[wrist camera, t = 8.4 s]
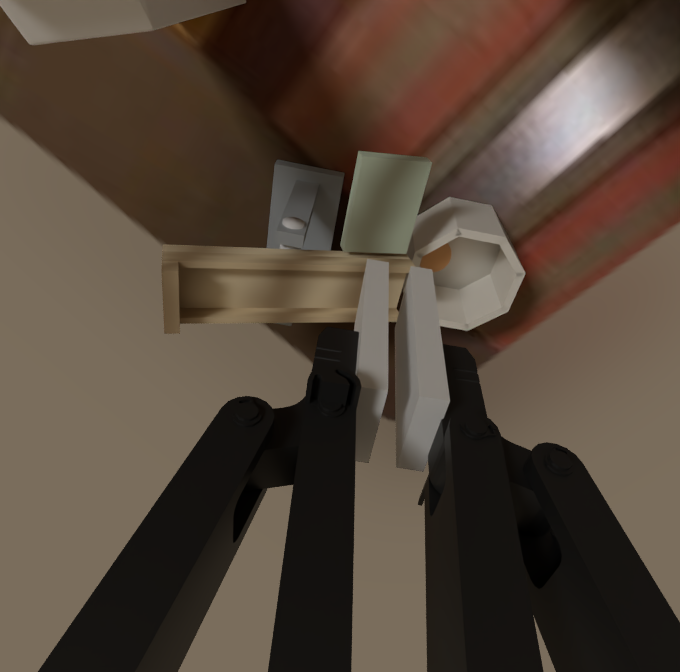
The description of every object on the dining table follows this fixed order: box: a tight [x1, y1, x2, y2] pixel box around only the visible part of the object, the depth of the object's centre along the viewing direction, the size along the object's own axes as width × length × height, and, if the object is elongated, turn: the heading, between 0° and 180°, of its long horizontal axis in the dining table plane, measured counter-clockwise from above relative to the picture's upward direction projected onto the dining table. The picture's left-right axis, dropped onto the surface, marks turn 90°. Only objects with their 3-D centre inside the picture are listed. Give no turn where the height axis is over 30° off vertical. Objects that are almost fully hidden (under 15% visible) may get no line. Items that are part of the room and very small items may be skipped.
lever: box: [162, 151, 432, 334], centre depth 35 cm, size 18×13×3 cm
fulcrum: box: [267, 159, 345, 326], centre depth 42 cm, size 6×10×12 cm, turn 170°
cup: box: [403, 197, 526, 331], centre depth 45 cm, size 9×9×6 cm
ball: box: [420, 243, 451, 272], centre depth 46 cm, size 3×3×3 cm
